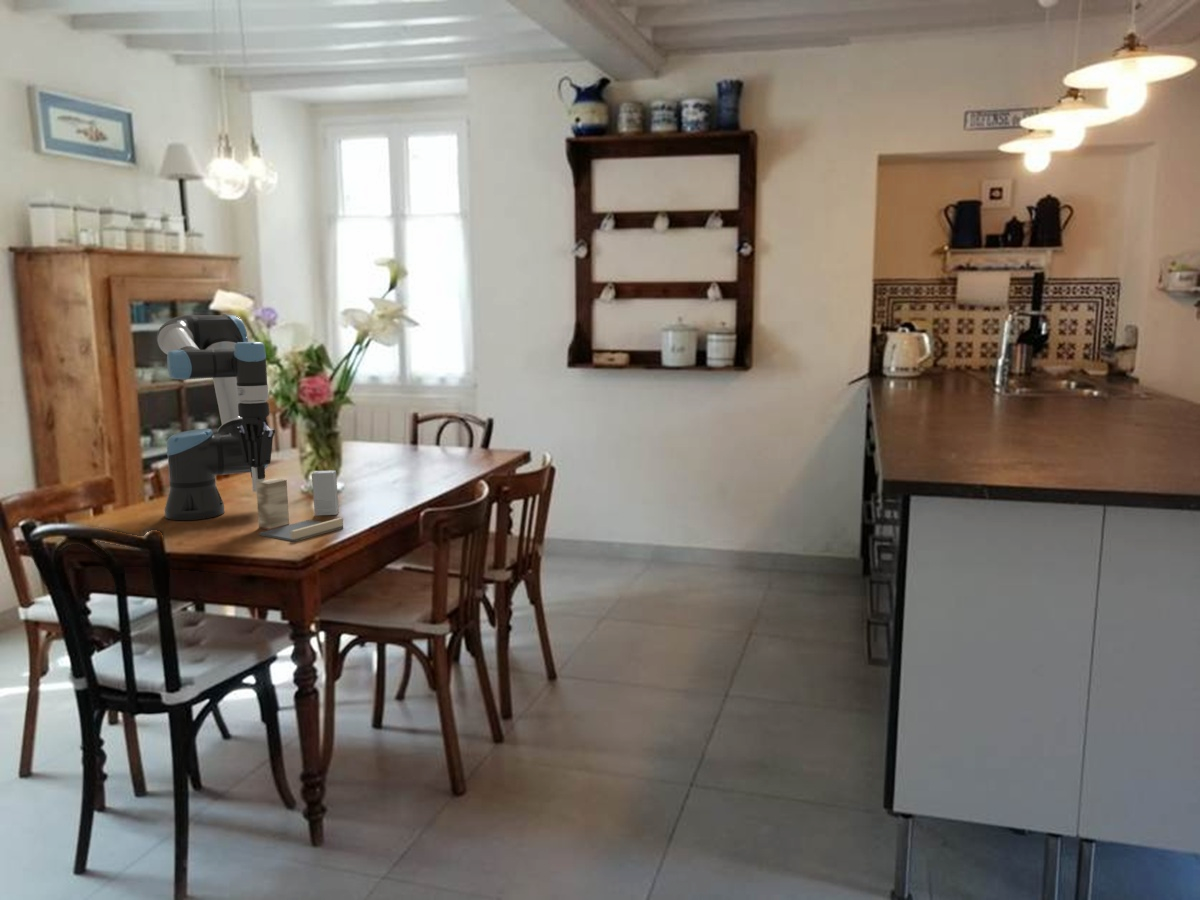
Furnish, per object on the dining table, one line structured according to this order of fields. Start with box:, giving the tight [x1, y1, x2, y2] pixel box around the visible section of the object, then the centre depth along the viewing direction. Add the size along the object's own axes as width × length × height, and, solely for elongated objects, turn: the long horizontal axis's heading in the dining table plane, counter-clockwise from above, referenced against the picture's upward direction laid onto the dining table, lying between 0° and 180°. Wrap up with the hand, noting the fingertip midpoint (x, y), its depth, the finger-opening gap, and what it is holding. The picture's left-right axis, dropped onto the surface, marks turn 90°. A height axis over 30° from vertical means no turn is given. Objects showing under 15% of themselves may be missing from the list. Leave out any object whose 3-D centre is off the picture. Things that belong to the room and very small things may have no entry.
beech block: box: [256, 478, 290, 531], centre depth 238 cm, size 4×6×12 cm
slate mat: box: [258, 517, 344, 543], centre depth 234 cm, size 13×16×3 cm
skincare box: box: [311, 470, 340, 516], centre depth 252 cm, size 6×4×12 cm
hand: (259, 490), depth 240 cm, fingers closed
